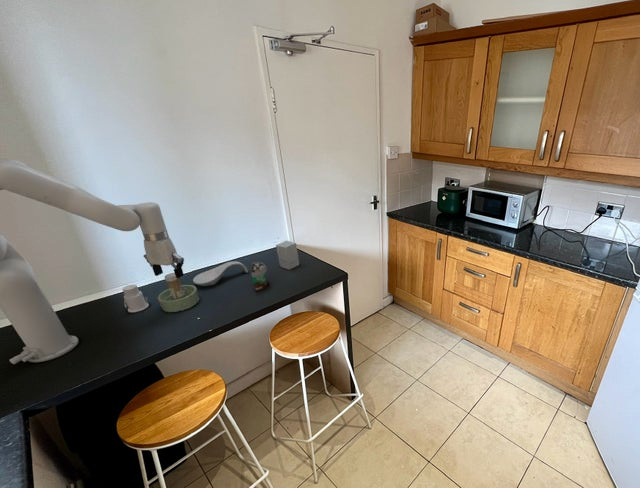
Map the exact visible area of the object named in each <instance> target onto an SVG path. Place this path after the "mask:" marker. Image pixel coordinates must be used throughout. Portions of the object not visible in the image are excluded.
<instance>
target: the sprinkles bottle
mask: <svg viewBox="0 0 640 488" xmlns="http://www.w3.org/2000/svg"><path fill="white" fill-rule="evenodd" d="M164 280H165V282H166V284H167V286H168V289H169V290H170V293H171V295H172V298H173V300H178V299H181V298H184V297H185V294H184V291H183V288H182V286H181V285H182V283H181V281H180V278H176V276H175V273H174V272H170V273H167V274H165V275H164Z"/></svg>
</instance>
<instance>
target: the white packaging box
mask: <svg viewBox="0 0 640 488" xmlns="http://www.w3.org/2000/svg"><path fill="white" fill-rule="evenodd" d="M275 247H276V253H277V258H278V263H279V267H280V268H282V269H286V270H293V269H294V268H295V267H298V266H300V259H299V254H298V247H297V243H296V242H293V241H289V240H285V241H282V242H280V243H277V244H275Z"/></svg>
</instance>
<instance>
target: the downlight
mask: <svg viewBox="0 0 640 488" xmlns="http://www.w3.org/2000/svg"><path fill="white" fill-rule="evenodd" d="M122 291H123V300H124V301H123V302H124V304H123V305H124V307H125V308H127V311H128V313H137V312H141V311H144V310H145V309H147V308H148V307H149V306H150V304H149V303H148V297H147V296H145V297H144V294H143V291H141V290H139V287H138V285H137V284H128V285H126V286H124V287H123V288H122Z"/></svg>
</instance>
